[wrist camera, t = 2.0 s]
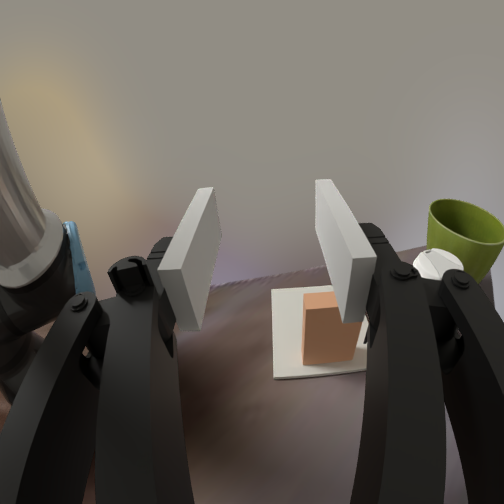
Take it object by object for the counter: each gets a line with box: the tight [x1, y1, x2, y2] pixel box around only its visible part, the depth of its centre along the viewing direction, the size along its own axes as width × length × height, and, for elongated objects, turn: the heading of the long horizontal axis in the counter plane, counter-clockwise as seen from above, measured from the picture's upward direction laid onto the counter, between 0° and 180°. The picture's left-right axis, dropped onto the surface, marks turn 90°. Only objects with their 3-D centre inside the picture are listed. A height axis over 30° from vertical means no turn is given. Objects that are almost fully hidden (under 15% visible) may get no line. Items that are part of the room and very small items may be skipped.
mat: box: [271, 285, 369, 379], centre depth 42 cm, size 15×18×1 cm
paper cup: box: [413, 248, 464, 280], centre depth 34 cm, size 8×8×14 cm
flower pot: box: [427, 199, 504, 284], centre depth 39 cm, size 15×15×16 cm
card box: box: [301, 291, 362, 365], centre depth 34 cm, size 7×3×11 cm, turn 88°
